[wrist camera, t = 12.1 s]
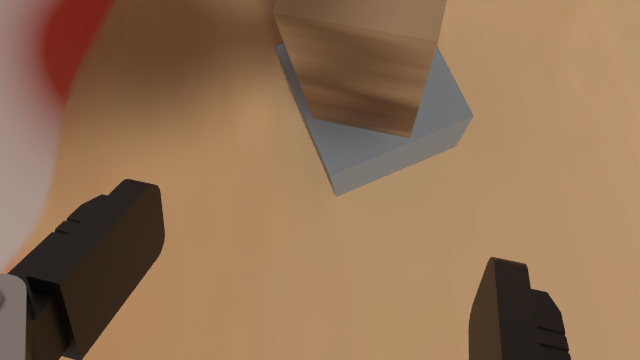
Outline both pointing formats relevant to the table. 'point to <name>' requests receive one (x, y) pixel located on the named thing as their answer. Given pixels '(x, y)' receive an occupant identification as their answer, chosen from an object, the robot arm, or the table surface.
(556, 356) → the robot arm
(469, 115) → the slate gray block
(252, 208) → the table surface
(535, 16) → the table surface
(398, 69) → the walnut block
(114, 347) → the table surface
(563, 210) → the table surface
